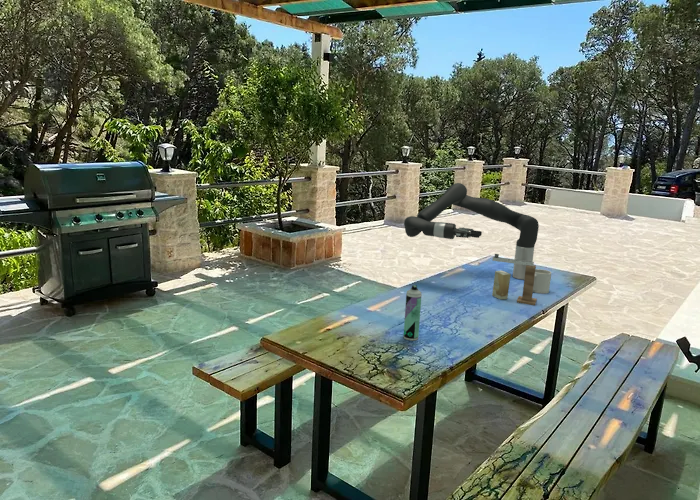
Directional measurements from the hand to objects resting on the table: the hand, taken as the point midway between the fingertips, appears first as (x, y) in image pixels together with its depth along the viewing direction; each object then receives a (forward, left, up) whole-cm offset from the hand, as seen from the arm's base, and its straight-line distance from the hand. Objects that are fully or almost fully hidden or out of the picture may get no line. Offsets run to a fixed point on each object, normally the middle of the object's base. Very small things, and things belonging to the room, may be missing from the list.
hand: (480, 234), depth 254 cm
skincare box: (+3, +12, -28) cm, 31 cm away
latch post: (+3, +24, -28) cm, 37 cm away
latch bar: (+3, +16, -11) cm, 20 cm away
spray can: (+72, -10, -28) cm, 78 cm away
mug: (-18, +27, -28) cm, 43 cm away
